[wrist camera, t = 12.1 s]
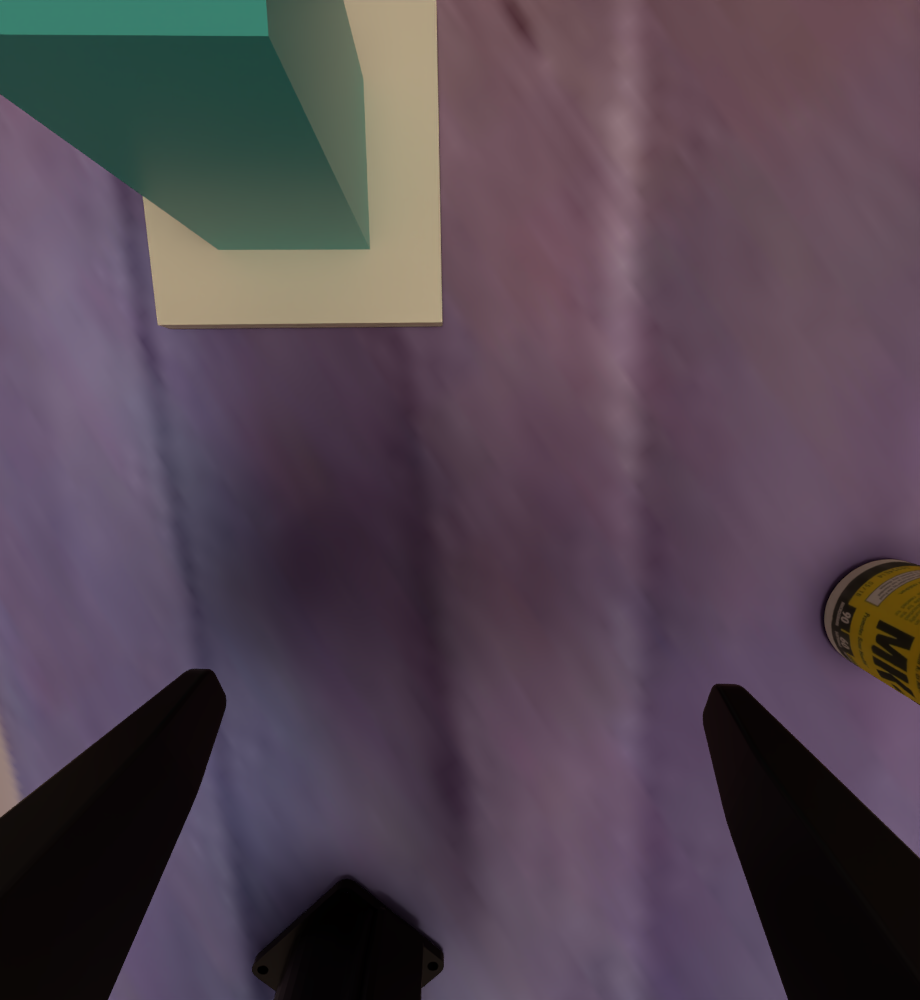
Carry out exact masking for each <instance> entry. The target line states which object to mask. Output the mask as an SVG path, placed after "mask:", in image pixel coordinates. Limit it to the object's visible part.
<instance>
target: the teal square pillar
mask: <svg viewBox="0 0 920 1000" xmlns="http://www.w3.org/2000/svg"><path fill="white" fill-rule="evenodd" d="M0 94H1V95H2V96H4V97H5V98H7V99H8V100H9V101H11V102H12V103H14V104H15V105H16V106H18V107H19V108H21V109H22V110H23V111H25V112H26V113H28V114H29V115H30V116H32V117H33V118H35V119H36V120H37V121H39V122H40V123H42V124H43V125H44V126H46V127H47V128H49V129H50V130H51V131H53V132H54V133H56V134H57V135H58V136H60V137H61V138H63V139H64V140H65V141H67V142H68V143H70V144H71V145H72V146H74V147H75V148H77V149H78V150H79V151H81V152H82V153H84V154H85V155H86V156H88V157H89V158H91V159H92V160H93V161H95V162H96V163H98V164H99V165H100V166H102V167H103V168H104V169H106V170H107V171H109V172H110V173H111V174H113V175H114V176H116V177H117V178H118V179H120V180H121V181H123V182H124V183H125V184H127V185H128V186H130V187H131V188H132V189H134V190H135V191H137V192H138V193H139V194H141V195H142V196H144V197H145V198H146V199H148V200H149V201H151V202H152V203H153V204H155V205H156V206H158V207H159V208H160V209H162V210H163V211H165V212H166V213H167V214H169V215H170V216H172V217H173V218H174V219H176V220H177V221H179V222H180V223H181V224H183V225H184V226H186V227H187V228H188V229H190V230H191V231H193V232H194V233H195V234H197V235H198V236H200V237H201V238H202V239H204V240H205V241H207V242H208V243H209V244H211V245H212V246H214V247H215V248H216V249H218V250H359V249H370V235H369V209H368V184H367V158H366V133H365V107H364V82H363V75H362V71H361V67H360V64H359V60H358V56H357V52H356V48H355V44H354V40H353V36H352V32H351V28H350V24H349V20H348V16H347V12H346V8H345V4H344V1H343V0H0Z"/></svg>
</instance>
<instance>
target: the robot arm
mask: <svg viewBox="0 0 920 1000" xmlns="http://www.w3.org/2000/svg"><path fill="white" fill-rule="evenodd" d="M225 708H226V695H225V693H224V691H223V689H222V687H221V685H220V683H219V681H218V679H217V677H216V675H215V673H214V672H213V671H212V670H210V669H190V670H188V671H186V672H184V673H183V674H182V675H180V676H179V677H178V678H177V679H175V680H174V681H173V682H171V683H170V684H169V685H168V686H166V687H165V688H164V689H163V690H161V691H160V692H159V693H158V694H156V695H155V696H154V697H152V698H151V699H150V700H149V701H147V702H146V703H145V704H144V705H142V706H141V707H140V708H139V709H137V710H136V711H135V712H133V713H132V714H131V715H130V716H128V717H127V718H126V719H125V720H123V721H122V722H121V723H120V724H118V725H117V726H116V727H114V728H113V729H112V730H111V731H109V732H108V733H107V734H106V735H104V736H103V737H102V738H100V739H99V740H98V741H97V742H95V743H94V744H93V745H92V746H90V747H89V748H88V749H87V750H85V751H84V752H83V753H81V754H80V755H79V756H78V757H76V758H75V759H74V760H73V761H71V762H70V763H69V764H68V765H66V766H65V767H64V768H62V769H61V770H60V771H59V772H57V773H56V774H55V775H54V776H52V777H51V778H50V779H49V780H47V781H46V782H45V783H43V784H42V785H41V786H40V787H38V788H37V789H36V790H35V791H33V792H32V793H31V794H29V795H28V796H27V797H26V798H24V799H23V800H22V801H21V802H19V803H18V804H17V805H16V806H14V807H13V808H12V809H11V810H9V811H8V812H7V813H6V814H4V815H3V816H2V817H0V1000H108V998H109V996H110V994H111V991H112V989H113V987H114V984H115V982H116V980H117V977H118V975H119V973H120V971H121V968H122V966H123V964H124V961H125V959H126V957H127V954H128V952H129V950H130V948H131V945H132V943H133V941H134V938H135V936H136V934H137V931H138V929H139V927H140V925H141V922H142V920H143V918H144V915H145V913H146V911H147V908H148V906H149V904H150V902H151V899H152V897H153V895H154V892H155V890H156V888H157V885H158V883H159V881H160V879H161V876H162V874H163V872H164V869H165V867H166V865H167V862H168V860H169V858H170V856H171V853H172V851H173V849H174V846H175V844H176V842H177V839H178V837H179V835H180V833H181V830H182V828H183V826H184V823H185V821H186V819H187V816H188V814H189V812H190V810H191V807H192V805H193V802H194V800H195V798H196V795H197V793H198V790H199V787H200V784H201V782H202V779H203V776H204V773H205V770H206V767H207V763H208V760H209V757H210V754H211V751H212V748H213V745H214V742H215V739H216V736H217V733H218V730H219V727H220V724H221V721H222V718H223V715H224V712H225ZM703 726H704V730H705V734H706V739H707V743H708V747H709V751H710V755H711V760H712V764H713V768H714V772H715V776H716V781H717V785H718V789H719V793H720V797H721V802H722V806H723V810H724V813H725V817H726V821H727V824H728V827H729V830H730V833H731V837H732V840H733V842H734V845H735V848H736V851H737V854H738V857H739V860H740V863H741V865H742V868H743V871H744V874H745V877H746V880H747V883H748V886H749V888H750V891H751V894H752V897H753V900H754V903H755V906H756V909H757V912H758V914H759V917H760V920H761V923H762V926H763V929H764V932H765V935H766V937H767V940H768V943H769V946H770V949H771V952H772V955H773V958H774V960H775V963H776V966H777V969H778V972H779V975H780V978H781V981H782V984H783V986H784V989H785V992H786V995H787V998H788V1000H920V858H919V857H918V856H917V855H916V854H915V853H914V852H913V851H912V850H911V849H910V848H909V847H908V846H907V845H906V844H905V843H904V842H903V841H902V840H901V839H900V838H898V837H897V836H896V835H895V834H894V833H893V832H892V831H891V830H890V829H889V828H888V827H887V826H886V825H885V824H884V823H883V822H882V821H881V820H880V819H879V818H878V817H877V816H876V815H875V814H874V813H873V812H872V811H871V810H870V809H869V808H867V807H866V806H865V805H864V804H863V803H862V802H861V801H860V800H859V799H858V798H857V797H856V796H855V795H854V794H853V793H852V792H851V791H850V790H849V789H848V788H847V787H846V786H845V785H844V784H843V783H842V782H841V781H840V780H839V779H838V778H837V777H835V776H834V775H833V774H832V773H831V772H830V771H829V770H828V769H827V768H826V767H825V766H824V765H823V764H822V763H821V762H820V761H819V760H818V759H817V758H816V757H815V756H814V755H813V754H812V753H811V752H810V751H809V750H808V749H807V748H806V747H804V746H803V745H802V744H801V743H800V742H799V741H798V740H797V739H796V738H795V737H794V736H793V735H792V734H791V733H790V732H789V731H788V730H787V729H786V728H785V727H784V726H783V725H782V724H781V723H780V722H779V721H778V720H777V719H776V718H775V717H774V716H772V715H771V714H770V713H769V712H768V711H767V710H766V709H765V708H764V707H763V706H762V705H761V704H760V703H759V702H758V701H757V700H756V699H755V698H754V697H753V696H752V695H751V694H750V693H749V692H748V691H747V690H746V689H744V688H743V687H742V686H740V685H736V684H715V685H714V686H713V687H712V689H711V692H710V694H709V697H708V700H707V703H706V706H705V708H704V711H703ZM345 892H347V893H345ZM443 967H444V955H443V952H442V951H441V950H440V949H438V948H437V947H436V946H435V945H433V944H432V943H431V942H430V941H428V940H427V939H426V938H425V937H423V936H422V935H421V934H420V933H418V932H417V931H416V930H415V929H413V928H412V927H411V926H410V925H408V924H407V923H406V922H405V921H403V920H402V919H401V918H400V917H398V916H397V915H396V914H395V913H393V912H392V911H391V910H390V909H388V908H387V907H386V906H385V905H383V904H382V903H381V902H380V901H378V900H377V899H376V898H375V897H373V896H372V895H371V894H370V893H368V892H367V891H366V890H365V889H363V888H362V887H361V886H360V885H358V884H357V883H356V882H355V881H353V880H351V879H343V880H341V881H339V882H338V883H337V884H336V885H335V886H334V887H332V888H331V889H330V890H329V891H328V892H327V893H326V894H325V895H324V896H322V897H321V898H320V899H319V900H318V901H317V902H316V903H315V904H314V905H312V906H311V907H310V908H309V909H308V910H307V911H306V912H305V913H303V914H302V915H301V916H300V917H299V918H298V919H297V920H296V921H295V922H293V923H292V924H291V925H290V926H289V927H288V928H287V929H286V930H285V931H283V932H282V933H281V934H280V935H279V936H278V937H277V938H276V939H274V940H273V941H272V942H271V943H270V944H269V945H268V946H267V947H266V948H264V949H263V950H262V951H261V952H260V953H259V954H258V955H257V956H256V958H255V961H254V964H253V967H252V972H253V974H254V975H255V976H256V977H257V978H258V979H260V980H261V981H263V982H264V983H265V984H267V985H268V986H269V987H271V988H272V989H273V990H275V991H276V993H275V997H274V1000H421V988H422V987H424V986H425V985H426V984H427V983H428V982H430V981H431V980H432V979H433V978H434V977H436V976H437V975H438V974H439V973H440V972H441V971H442V970H443Z"/></svg>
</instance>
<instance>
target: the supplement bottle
mask: <svg viewBox="0 0 920 1000" xmlns="http://www.w3.org/2000/svg"><path fill="white" fill-rule="evenodd" d="M824 623H825V630H826V633H827V636H828V638H829V640H830V642H831V643H832V645H833V646H834V648H835V649H836V650H837V651H838V652H839V653H840V654H841V655H842V656H843V657H845V658H846V659H847V660H849V661H850V662H852V663H854V664H855V665H857V666H858V667H860V668H862V669H863V670H865V671H866V672H868V673H870V674H871V675H873V676H874V677H876V678H878V679H879V680H881V681H882V682H884V683H886V684H887V685H889V686H890V687H892V688H894V689H895V690H897V691H898V692H900V693H902V694H903V695H905V696H906V697H908V698H910V699H911V700H913V701H914V702H916V703H917V704H919V705H920V566H919V565H916V564H913V563H909V562H906V561H901V560H894V559H885V560H877V561H873V562H870V563H867V564H864V565H862V566H860V567H858V568H856V569H855V570H853V571H852V572H850V573H849V574H848V575H847V576H845V577H844V578H843V579H842V580H841V581H840V582H839V583H838V584H837V586H836V587H835V588H834V590H833V591H832V593H831V595H830V597H829V599H828V602H827V604H826V608H825V615H824Z"/></svg>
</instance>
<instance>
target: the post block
mask: <svg viewBox="0 0 920 1000" xmlns="http://www.w3.org/2000/svg"><path fill="white" fill-rule="evenodd" d="M343 1H344V4H345V8H346V12H347V16H348V20H349V24H350V28H351V32H352V36H353V40H354V44H355V48H356V52H357V56H358V60H359V64H360V67H361V71H362V75H363V82H364V107H365V133H366V158H367V184H368V209H369V235H370V249H359V250H218V249H216V248H215V247H214V246H212V245H211V244H209V243H208V242H207V241H205V240H204V239H202V238H201V237H200V236H198V235H197V234H195V233H194V232H193V231H191V230H190V229H188V228H187V227H186V226H184V225H183V224H181V223H180V222H179V221H177V220H176V219H174V218H173V217H172V216H170V215H169V214H167V213H166V212H165V211H163V210H162V209H160V208H159V207H158V206H156V205H155V204H153V203H152V202H151V201H149V200H148V199H146V198H145V197H144V196H143V202H144V211H145V219H146V228H147V236H148V245H149V254H150V262H151V271H152V279H153V288H154V296H155V305H156V314H157V322H158V325H160V326H163V327H166V328H169V329H213V328H315V327H418V326H442V276H441V222H440V169H439V115H438V62H437V11H436V0H343Z"/></svg>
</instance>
